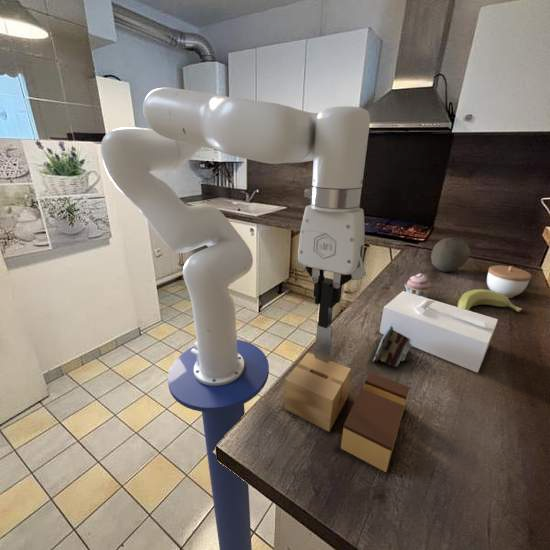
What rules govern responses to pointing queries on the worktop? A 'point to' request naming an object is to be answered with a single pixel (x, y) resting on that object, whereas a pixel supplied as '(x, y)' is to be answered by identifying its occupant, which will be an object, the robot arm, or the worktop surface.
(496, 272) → the lidded bowl
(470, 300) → the banana
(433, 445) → the worktop surface
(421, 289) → the cupcake
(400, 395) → the cake slice
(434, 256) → the cantaloupe
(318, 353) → the knife
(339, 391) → the knife block
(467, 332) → the tissue box
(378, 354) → the chocolate cake
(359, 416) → the loaf cake
